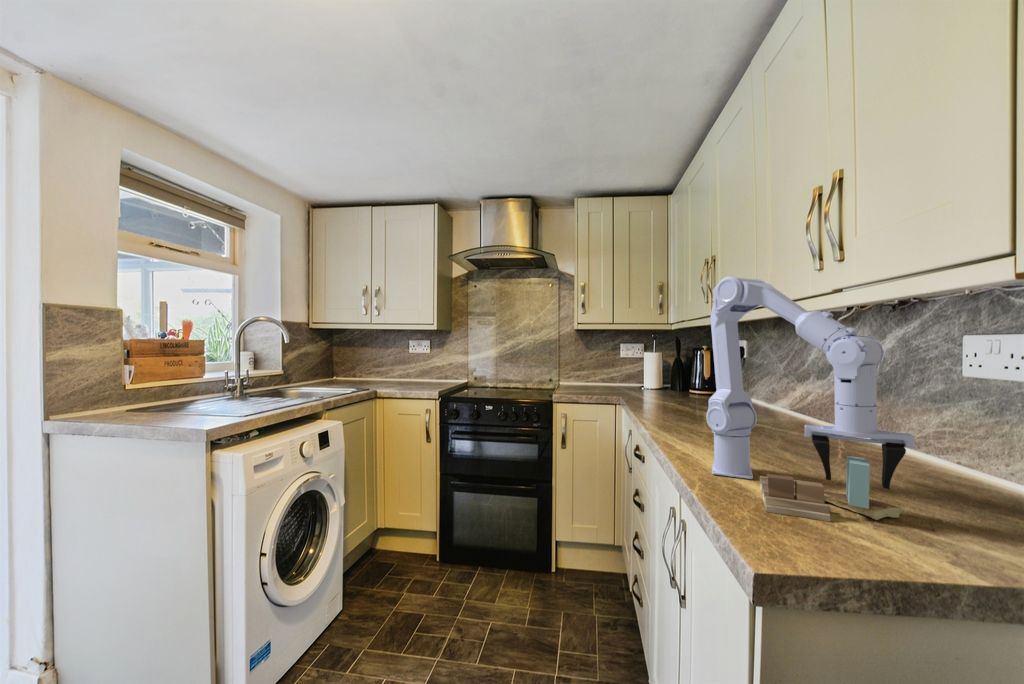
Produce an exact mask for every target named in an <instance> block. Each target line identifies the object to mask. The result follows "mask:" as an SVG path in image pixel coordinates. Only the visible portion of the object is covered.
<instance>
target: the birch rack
mask: <svg viewBox="0 0 1024 684" xmlns="http://www.w3.org/2000/svg"><path fill="white" fill-rule="evenodd" d="M793 480H794V500H791V499H784V498H777V497H770V496H767V475H766V476H764V475H759V489H760V491H761V495H762V500H763V504H764V508H765V512H767V513H773V514H778V515H784V516H785V515H786V516H791V517H797V518H805V519H812V520H819V521H823V522H829V523H831V515H830V506H829V504H826V501H825V499H824V504H820V503H813V502H805V501H798V500H795V480H796V479H793ZM798 481H800V480H799V479H798ZM806 482H808V480H807V481H806Z"/></svg>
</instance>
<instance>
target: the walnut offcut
mask: <svg viewBox="0 0 1024 684" xmlns="http://www.w3.org/2000/svg"><path fill="white" fill-rule="evenodd" d="M766 477H767V496H770V497H777V498H784V499H791V500H794V480H795V479H794V478H793V476H787V475H777V474H771V473H767V474H766Z"/></svg>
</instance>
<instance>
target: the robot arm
mask: <svg viewBox="0 0 1024 684" xmlns="http://www.w3.org/2000/svg"><path fill="white" fill-rule="evenodd" d="M712 296H713V299H712V300H713V304H712V308H711V310H710V311H711V312H710V328H711V339H712V341H711V342H712V352H713V363H714V375H715V376H714V378H715V388H716V391H715V392H714V393H713V394H712V395H711V396H710V397H709V399H708V408H707V411H706V416H705V417H706V418H705V420H706V423H707V425H708V427H709V428H710V430H711V433H712V434H713V462H712V468H711V474H712V475H717V476H723V477H732V478H740V479H747V480H748V479H749V480H753V479H754V475H753V470H752V466H751V446H750V445H751V440H750V438H751V436H750V434H752V429H754V428H755V426H756V424H757V422H758V415H757V412H756V409H755V408H754V406H753V403H752V401H753V400H752V397H751V396H749V394H748V393H746V391H745V390H744V383H743V372H742V371H743V370H742V360H741V348H740V338H739V337H740V335H739V326H738V325H739V323H738V322H739V321H740V320H741V319H742V318H743V317H744V316H745V315H746V314H748V313H750V312H751V311H753V310H755V309H757V308H758V307H760V306H762V307H764V308H765V309H767V310H769V311H771V312H773V313H774V314H776V315H777V316H779V317H780V318H782V319H785V320H786V321H787V322H788V323H789V322H790V323H791V324H792V325H794V326H795V333H796V335H797V336H798V337H800V338H801V339H803V340H805V341H806V342H807V343H809V344H810V345H812V346H813V347H814V348H816V349H817V350H819V351H820V352H822V353H823V354H825V357H826V359H827V361H828V363H829V364H830V365H831V366H832V367H833V377H834V378H833V380H834V381H833V383H834V384H833V385H834V387H833V388H834V389H833V391H834V425H816V424H815V425H813V424H804V437H805V438H811V441H812V444H813V446H814V448H815V450H816V452H817V454H818V456H819V458H820V461H821V463H822V466H823V469H824V474H825V480H826V481H832V473H831V463H830V451H831V449H830V447H831V445H830V439H832V440H841V441H852V442H861V443H872V444H881V451H882V453H881V454H882V455H881V457H882V470H881V486H882V487H883V489H887V490H890V486H891V481H892V478H893V475H894V473H895V471H896V469H897V467H898V465H899V464H900V462H901V460H902V459H903V458H904V457H905V455H906V453H907V450H906V448H915V437H914V435H913V434H912V433H903V432H897V431H896V432H895V431H887V430H878V391H877V390H878V388H877V387H878V385H877V384H878V382H877V365H878V364H880V362H881V361H882V359H883V358H884V349H883V346H882V344H881V343H880V342H879V341H877V340H876V338H875V337H873V336H871V335H866V334H864V335H858V334H857V333H858V329H856V328H854V327H847V326H846V325H845V324H842V323H841V322H840V321H837V320H836V319H835V318H833V317H834V314H833V313H832V312H830V311H821V310H814V311H813V310H812V311H810V312H809V311H808V310H807V309H805V308H804V307H802V306H801V305H799V303H796V302H795V301H794V300H792V299H791V298H789V297H788V296H786V294H783V293H782V292H781V291H780V290H778V289H776V288H775V287H774V286H773V285H772V284H770V283H766V282H765V281H764V280H762V279H759V278H753V279H752V278H743V277H736V276H733V275H732V276H725V277H724V278H722V279H721V280H720V281H719V282H718V283H717V284H716V286H714V288H713V289H712Z"/></svg>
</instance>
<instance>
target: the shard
mask: <svg viewBox="0 0 1024 684" xmlns="http://www.w3.org/2000/svg"><path fill="white" fill-rule="evenodd" d="M824 499H825V502H828V503H830V504H833V505H835V506H837V507H839V508H843V509H847V510H850V511H852V512H855V513H858V514H861V515H864V516H867V517H869V518H872V519H873V520H876V521H878V520H880V519H884V518H900V515H901V513H902V512H903V508H902V507H901V506H898V505H893V504H890V503H887V502H885V501H884V502H883V501H880V500H877V499H871V498H869V509H867V508H862V507H857V506H852V505H849V503H848V499H847V496H846V493H845V494H844V493H837V492H829V491H824Z"/></svg>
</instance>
